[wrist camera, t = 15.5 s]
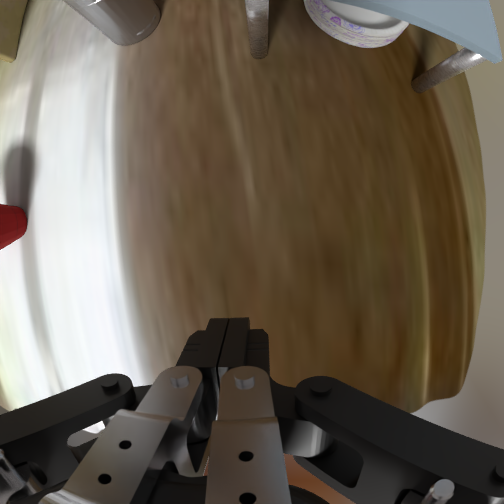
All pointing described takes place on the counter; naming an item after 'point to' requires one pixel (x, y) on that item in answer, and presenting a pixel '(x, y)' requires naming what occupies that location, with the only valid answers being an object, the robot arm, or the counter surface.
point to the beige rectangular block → (10, 27)
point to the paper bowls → (354, 23)
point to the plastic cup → (11, 224)
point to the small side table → (420, 14)
